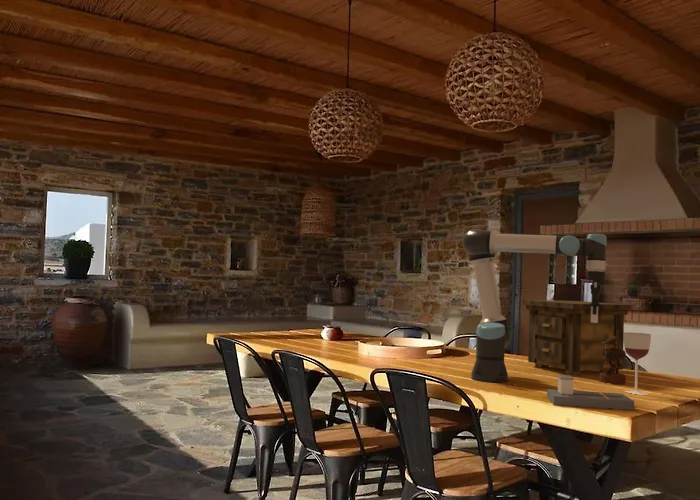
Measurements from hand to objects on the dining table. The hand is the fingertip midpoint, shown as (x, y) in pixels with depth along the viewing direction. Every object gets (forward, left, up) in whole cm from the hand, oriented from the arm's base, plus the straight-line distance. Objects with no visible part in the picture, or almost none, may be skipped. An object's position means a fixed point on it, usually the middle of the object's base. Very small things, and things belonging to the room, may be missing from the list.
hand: (594, 321), depth 263 cm
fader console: (-11, -44, -26) cm, 52 cm away
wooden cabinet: (+1, +41, -26) cm, 49 cm away
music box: (+11, +10, -26) cm, 30 cm away
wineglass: (+13, -15, -26) cm, 33 cm away
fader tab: (-19, -44, -23) cm, 53 cm away
